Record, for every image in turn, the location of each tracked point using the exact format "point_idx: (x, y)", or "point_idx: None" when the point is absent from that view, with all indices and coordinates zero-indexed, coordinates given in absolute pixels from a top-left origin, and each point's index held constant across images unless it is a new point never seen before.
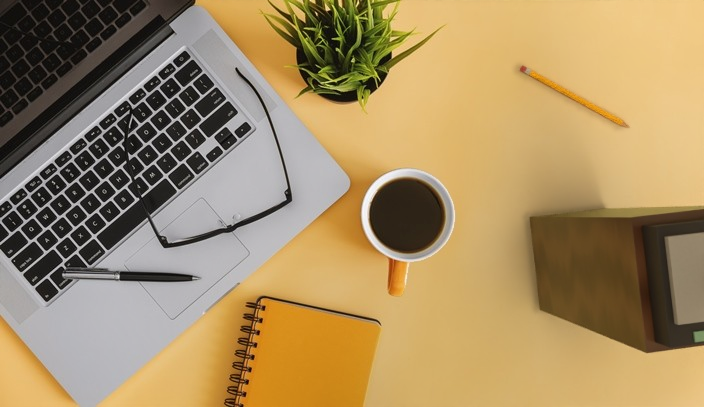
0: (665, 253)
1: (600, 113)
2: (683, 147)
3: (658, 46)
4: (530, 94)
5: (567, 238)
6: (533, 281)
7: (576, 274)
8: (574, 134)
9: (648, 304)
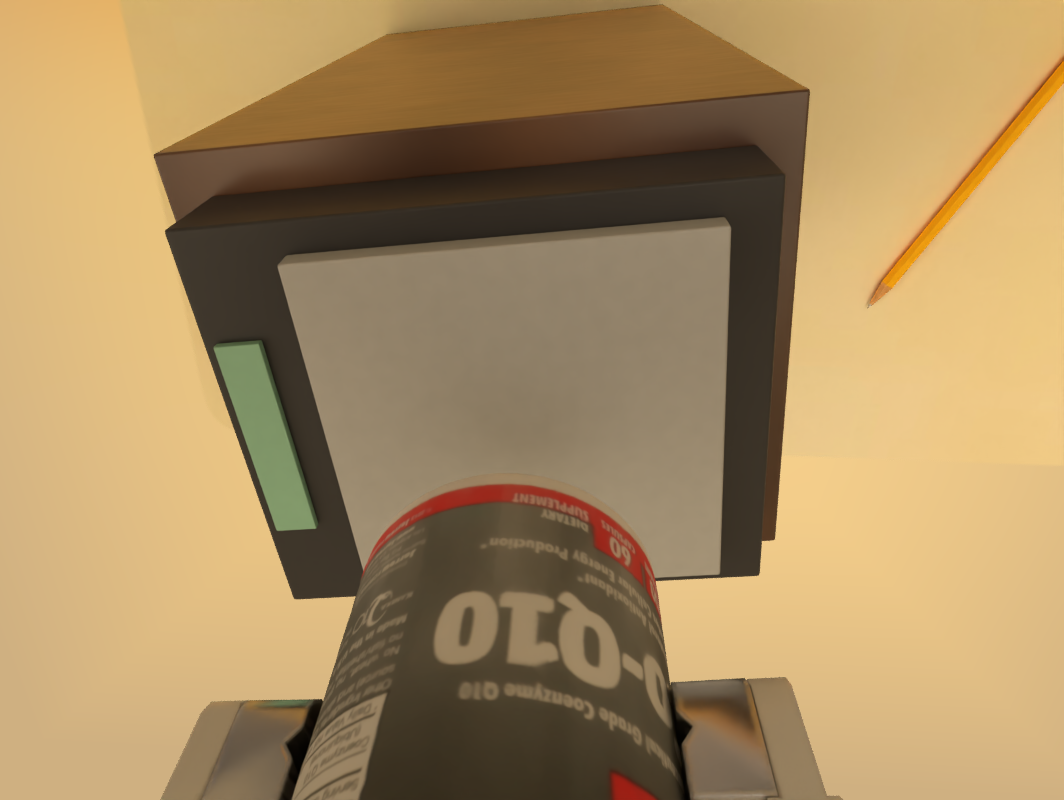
0: (638, 220)
1: (926, 230)
2: (790, 426)
3: (1052, 381)
4: (1038, 16)
5: (623, 33)
6: (468, 14)
7: (499, 50)
8: (882, 156)
9: (381, 170)
